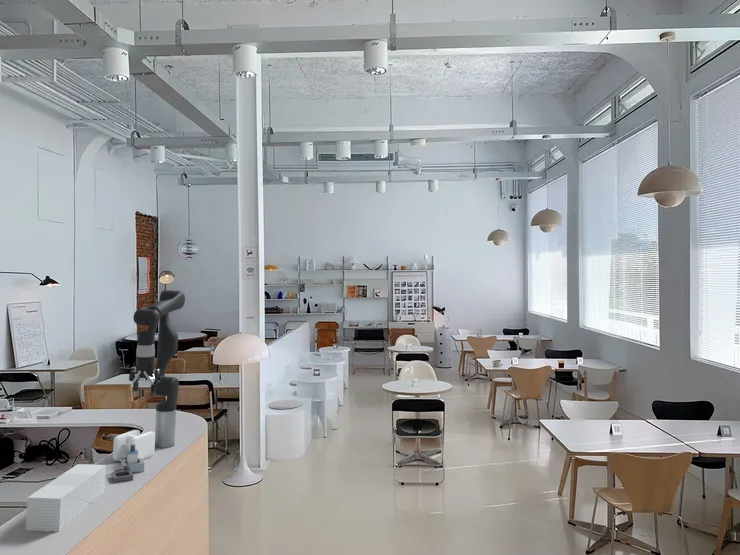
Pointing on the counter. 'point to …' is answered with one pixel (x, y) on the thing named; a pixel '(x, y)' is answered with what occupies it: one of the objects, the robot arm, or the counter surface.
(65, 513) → the stack of papers
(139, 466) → the port
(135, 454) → the plug
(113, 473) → the holster
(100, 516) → the counter surface
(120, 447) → the cable organizer
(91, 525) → the counter surface
